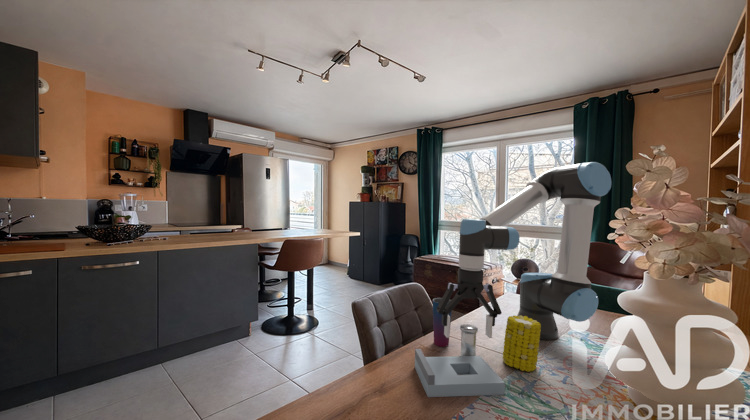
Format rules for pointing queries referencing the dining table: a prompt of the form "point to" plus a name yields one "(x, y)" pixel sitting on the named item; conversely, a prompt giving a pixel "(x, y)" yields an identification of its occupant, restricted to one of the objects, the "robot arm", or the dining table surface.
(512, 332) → the food
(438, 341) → the cup
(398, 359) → the dining table surface
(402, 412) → the dining table surface
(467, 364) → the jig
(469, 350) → the silver metal cylinder
